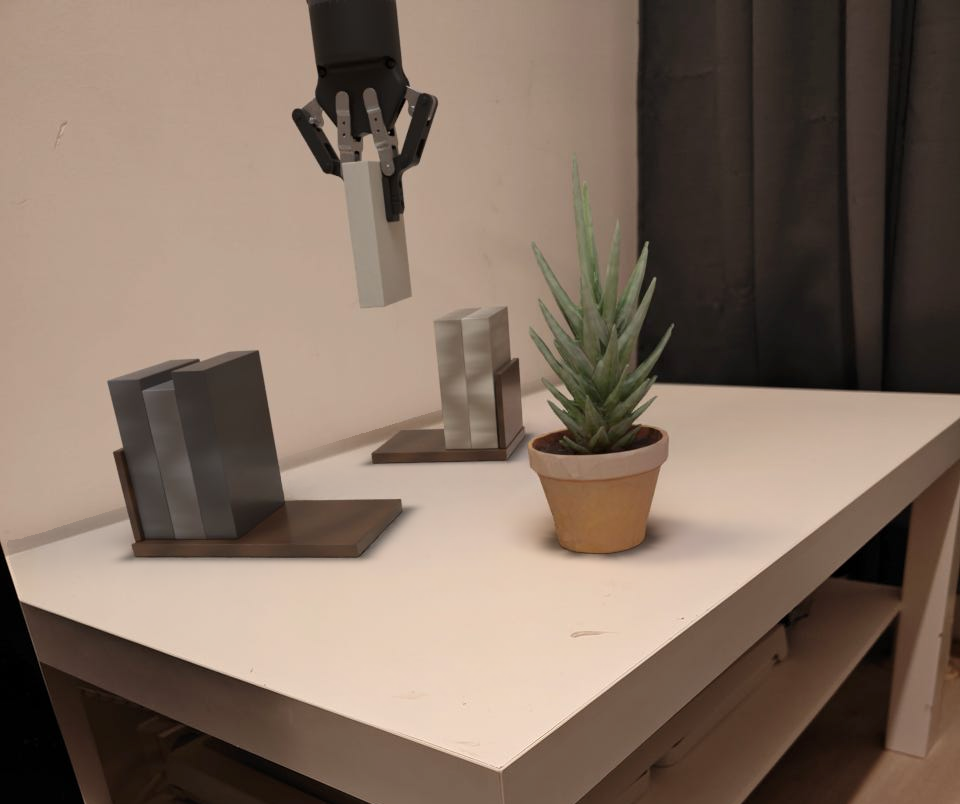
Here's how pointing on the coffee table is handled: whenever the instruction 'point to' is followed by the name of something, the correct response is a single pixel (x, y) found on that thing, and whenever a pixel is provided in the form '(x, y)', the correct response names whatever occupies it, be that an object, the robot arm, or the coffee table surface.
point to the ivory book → (375, 238)
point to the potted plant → (598, 402)
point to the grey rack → (221, 469)
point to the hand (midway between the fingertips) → (377, 222)
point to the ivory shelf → (468, 394)
